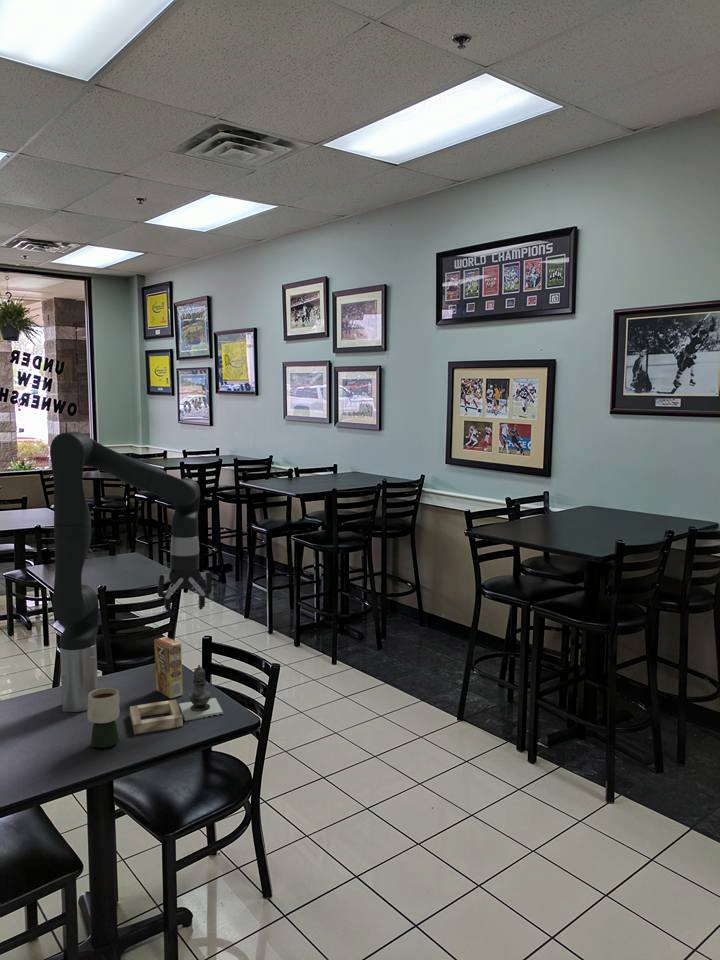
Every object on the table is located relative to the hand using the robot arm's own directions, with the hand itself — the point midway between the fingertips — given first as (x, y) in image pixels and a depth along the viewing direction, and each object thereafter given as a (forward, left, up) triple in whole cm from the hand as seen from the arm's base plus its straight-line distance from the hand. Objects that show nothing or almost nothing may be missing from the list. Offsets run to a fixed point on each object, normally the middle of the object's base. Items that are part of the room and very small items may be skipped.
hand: (184, 610), depth 194 cm
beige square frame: (-9, -8, -27) cm, 29 cm away
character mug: (-22, -17, -27) cm, 39 cm away
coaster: (+3, -6, -27) cm, 27 cm away
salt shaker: (+3, -6, -26) cm, 27 cm away
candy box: (-4, +9, -27) cm, 29 cm away
